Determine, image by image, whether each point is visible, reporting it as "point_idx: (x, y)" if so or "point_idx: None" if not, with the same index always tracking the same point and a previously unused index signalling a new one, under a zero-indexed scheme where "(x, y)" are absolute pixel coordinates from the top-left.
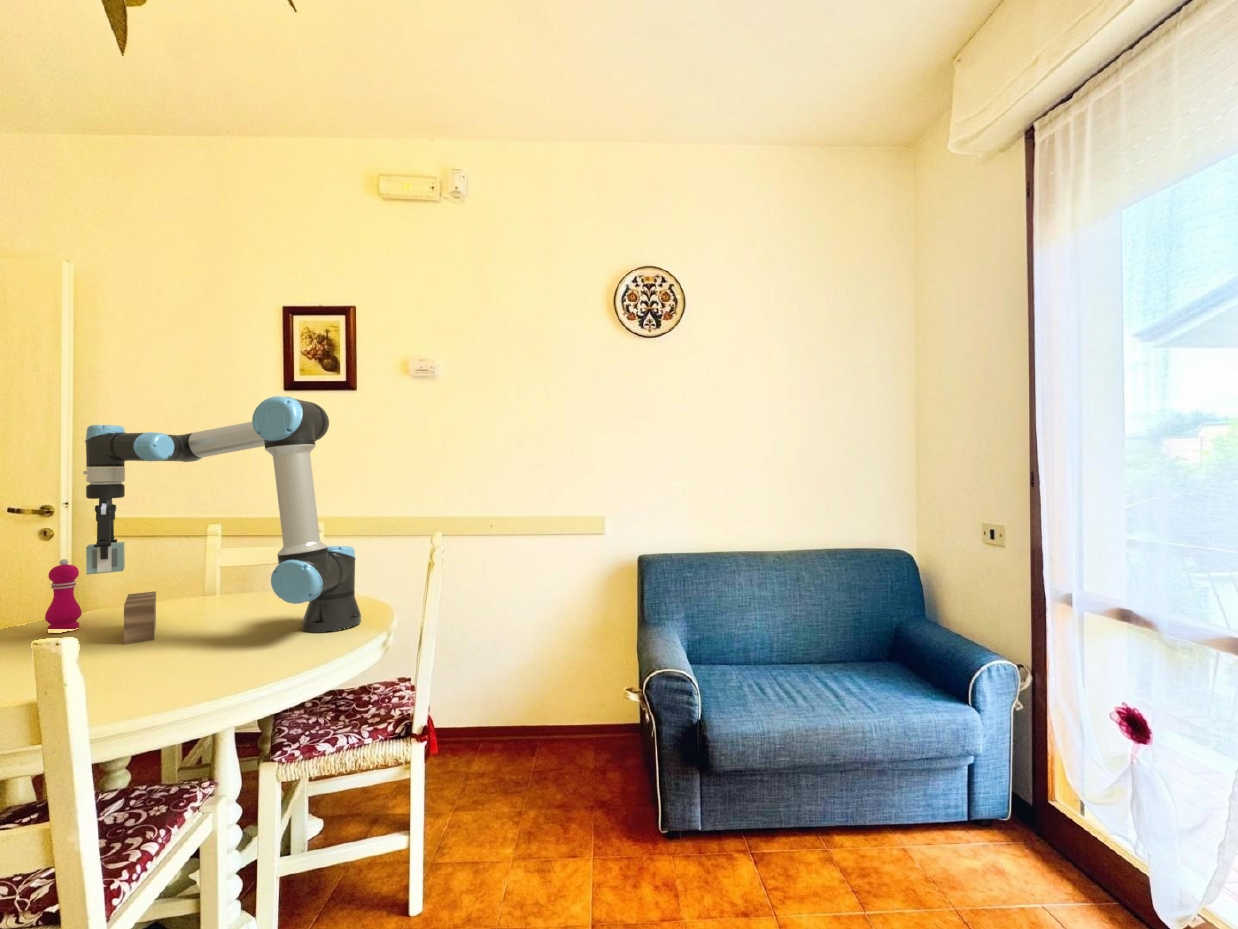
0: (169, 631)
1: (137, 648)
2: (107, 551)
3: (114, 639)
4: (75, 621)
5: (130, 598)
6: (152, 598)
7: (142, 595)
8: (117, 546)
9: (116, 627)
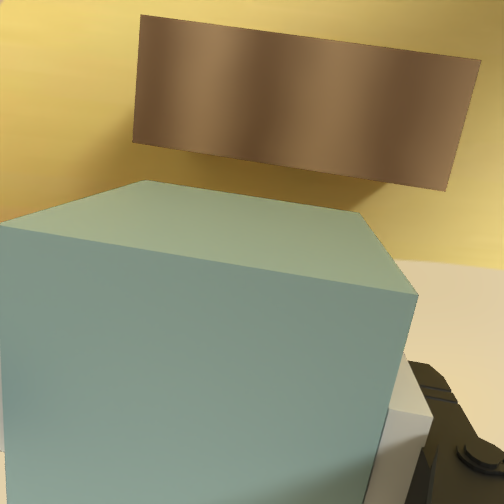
0: (322, 22)
1: (498, 146)
2: (468, 421)
3: (295, 189)
4: None
5: (263, 146)
6: (355, 55)
7: (219, 88)
8: (397, 343)
9: (112, 166)
